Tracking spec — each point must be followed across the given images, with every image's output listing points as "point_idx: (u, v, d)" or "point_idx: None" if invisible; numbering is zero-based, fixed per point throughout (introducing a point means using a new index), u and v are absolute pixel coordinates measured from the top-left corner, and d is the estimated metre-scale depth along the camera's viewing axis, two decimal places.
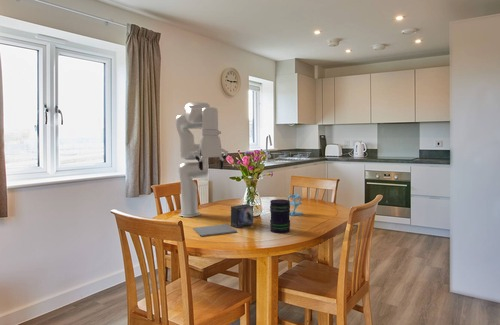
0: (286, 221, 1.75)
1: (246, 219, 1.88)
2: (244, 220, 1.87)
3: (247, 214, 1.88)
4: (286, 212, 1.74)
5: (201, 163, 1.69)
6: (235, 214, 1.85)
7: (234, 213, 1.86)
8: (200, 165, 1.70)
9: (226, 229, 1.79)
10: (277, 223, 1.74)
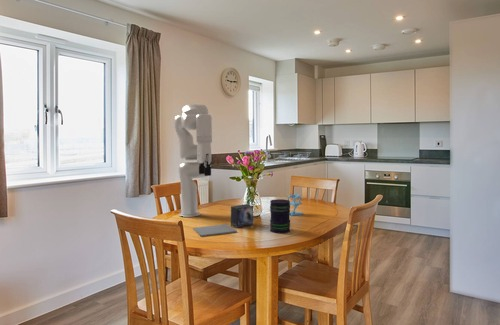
0: (286, 221, 1.75)
1: (246, 219, 1.88)
2: (244, 221, 1.87)
3: (247, 214, 1.88)
4: (286, 212, 1.74)
5: (210, 168, 1.73)
6: (235, 214, 1.85)
7: (234, 213, 1.86)
8: (209, 171, 1.72)
9: (226, 229, 1.79)
10: (277, 223, 1.74)
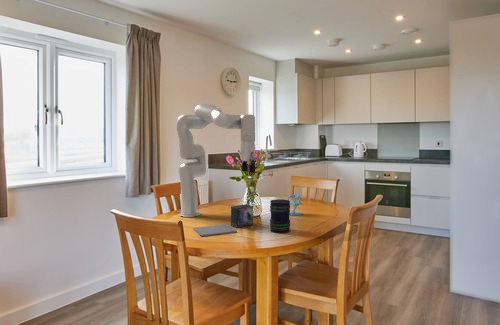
0: (286, 221, 1.75)
1: (246, 219, 1.88)
2: (244, 221, 1.87)
3: (247, 214, 1.88)
4: (286, 212, 1.74)
5: None
6: (235, 214, 1.85)
7: (234, 213, 1.86)
8: (254, 168, 1.82)
9: (226, 229, 1.79)
10: (277, 223, 1.74)
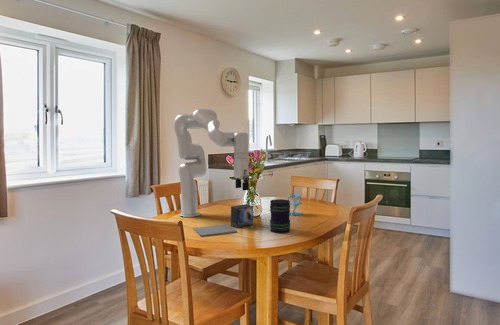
0: (286, 221, 1.75)
1: (246, 219, 1.88)
2: (244, 221, 1.87)
3: (247, 214, 1.88)
4: (286, 212, 1.74)
5: (248, 183, 1.84)
6: (235, 214, 1.85)
7: (234, 213, 1.86)
8: None
9: (226, 229, 1.79)
10: (277, 223, 1.74)
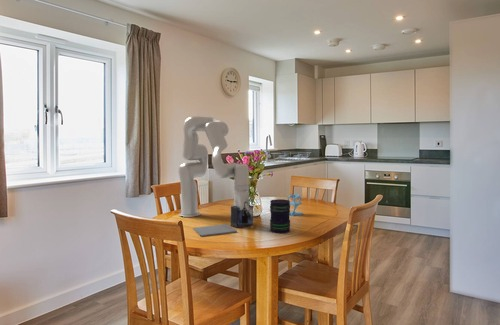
0: (286, 221, 1.75)
1: None
2: None
3: None
4: (286, 212, 1.74)
5: (247, 216, 1.87)
6: (235, 214, 1.85)
7: (234, 213, 1.86)
8: (246, 218, 1.86)
9: (226, 229, 1.79)
10: (277, 223, 1.74)
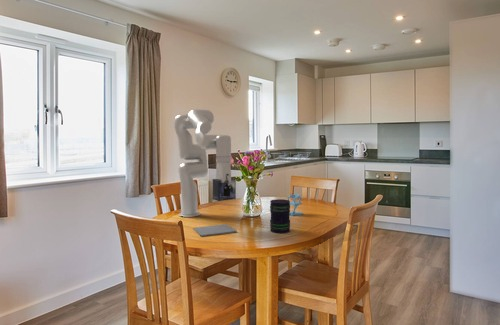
0: (286, 221, 1.75)
1: None
2: None
3: None
4: (286, 212, 1.74)
5: None
6: (217, 187, 1.77)
7: (215, 185, 1.79)
8: (228, 191, 1.79)
9: (226, 229, 1.79)
10: (277, 223, 1.74)
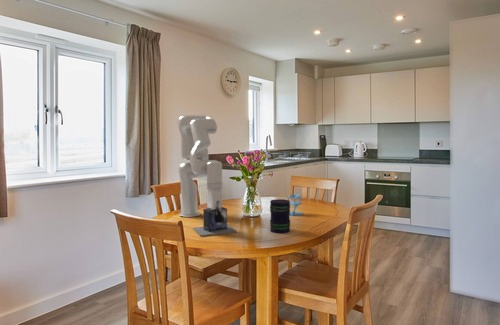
0: (286, 221, 1.75)
1: (219, 223, 1.78)
2: (217, 224, 1.77)
3: None
4: (286, 212, 1.74)
5: (221, 215, 1.76)
6: (207, 217, 1.75)
7: (206, 216, 1.77)
8: None
9: (226, 229, 1.79)
10: (277, 223, 1.74)
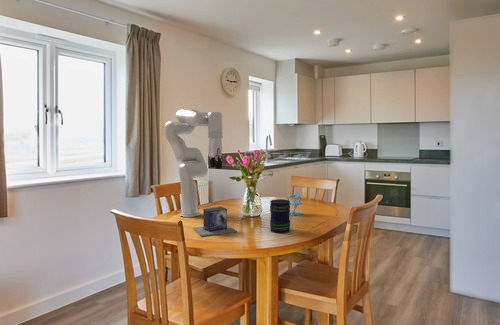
0: (286, 221, 1.75)
1: (219, 223, 1.78)
2: (217, 224, 1.77)
3: (220, 217, 1.78)
4: (286, 212, 1.74)
5: (221, 162, 1.88)
6: (207, 217, 1.75)
7: (206, 216, 1.77)
8: None
9: (226, 229, 1.79)
10: (277, 223, 1.74)
